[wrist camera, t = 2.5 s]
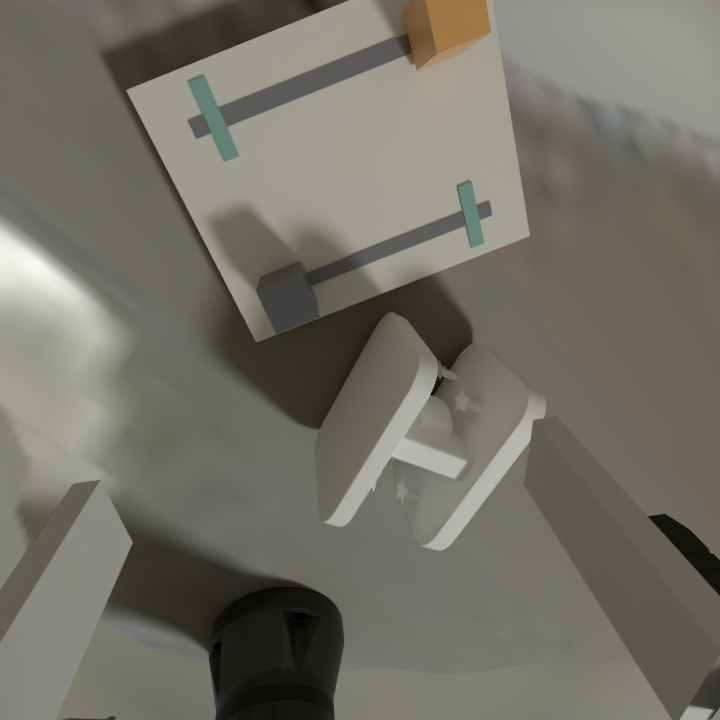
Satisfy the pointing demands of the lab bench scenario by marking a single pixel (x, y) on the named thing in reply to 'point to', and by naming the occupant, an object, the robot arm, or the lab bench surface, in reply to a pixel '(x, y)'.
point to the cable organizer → (423, 431)
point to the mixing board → (339, 155)
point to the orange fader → (444, 28)
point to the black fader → (287, 297)
